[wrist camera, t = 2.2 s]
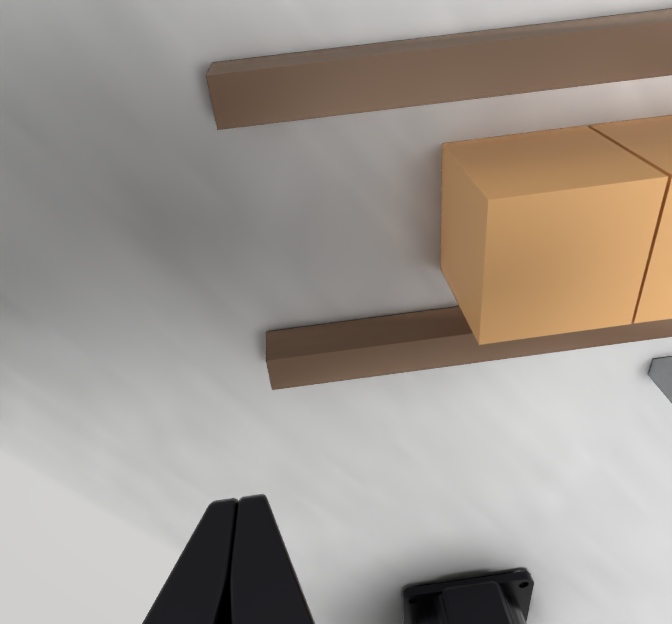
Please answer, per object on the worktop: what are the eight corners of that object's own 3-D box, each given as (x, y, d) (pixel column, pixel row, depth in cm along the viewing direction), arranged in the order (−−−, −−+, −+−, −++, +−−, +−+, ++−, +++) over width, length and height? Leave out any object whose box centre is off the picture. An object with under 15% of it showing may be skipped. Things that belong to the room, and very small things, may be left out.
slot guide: (675, 306, 19) (703, 332, 18) (272, 360, 19) (272, 390, 18) (770, -3, 14) (818, 3, 13) (211, 62, 14) (205, 75, 12)
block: (563, 251, 18) (630, 324, 15) (440, 267, 18) (479, 344, 14) (584, 124, 16) (668, 176, 12) (441, 142, 15) (488, 199, 12)
